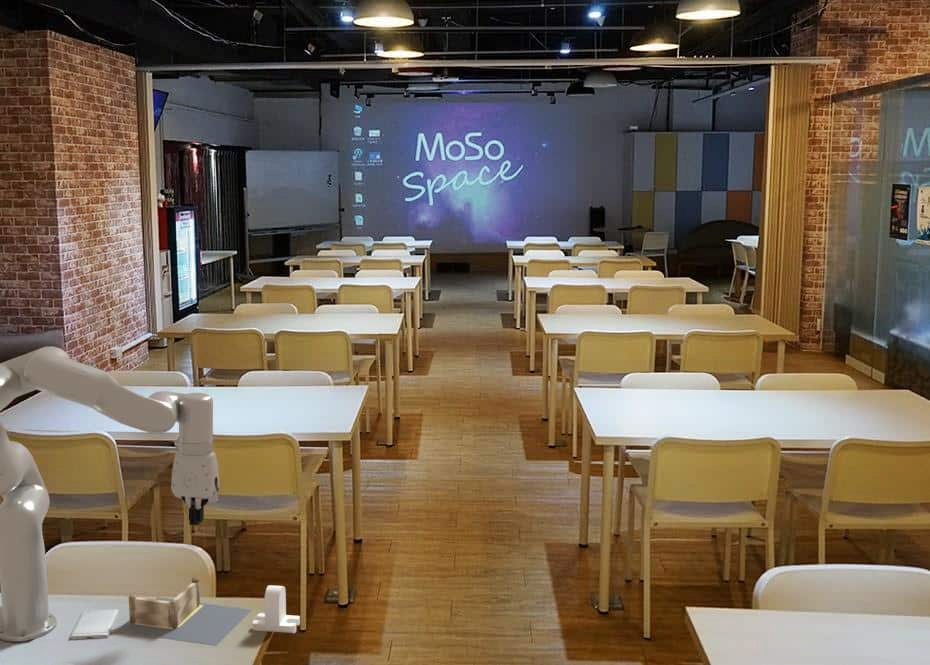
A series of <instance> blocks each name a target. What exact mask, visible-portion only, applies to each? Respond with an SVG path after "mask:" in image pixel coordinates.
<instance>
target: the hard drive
mask: <svg viewBox="0 0 930 665" xmlns="http://www.w3.org/2000/svg"><path fill="white" fill-rule="evenodd" d="M119 615H120V610H119V609H116V608H115V609H99V610H84V611H83V612H82V614H81V615H80V617H79V619H78V621H77V623H76V624H75V626H74V628H73V631H72V633H71V635H70V636H69V640H83V639H101V638H103V639H104V638H106V639H107V638H109V636H110V634H111V632H112V630H113V628H114V626H115V623H116V621H117V619H118V616H119Z"/></svg>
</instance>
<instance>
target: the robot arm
mask: <svg viewBox="0 0 930 665" xmlns="http://www.w3.org/2000/svg"><path fill="white" fill-rule="evenodd" d="M36 390H37V391H40V392H43V393H45V394H47V395H48V394H49V395H51V396H54V397H57V398H62V399H64V400H68V401H70V402H74V403H77V404H79V405H82V406H85V407H88V408H91V409H93V410H95V411H96V412H98V413H99V414H101V415H103V416H105V417H107V418H109V419H111V420H112V421H115V422H117V423H119V424H122V425H125V426H128V427H130V428H134V429H136V430H138V431H143V432H146V433H149V434H157V435H158V434H159V435H160V434H165V433H167V432H169V431H170V430H172V429H173V427H174V426H175V424H176V423H178V439H175V440H174V446H177V447H178V450H177V451H176V452H175V454H174V459H173V464H172V470H171V487H170V488H171V493H172V494H173V495H174V497H175V498H178V499H181V500H182V501H183V502H184V503H185V506H186V508H187V509H188V520H189V525H191V526H198V525H200V524H201V523H203V521H204V517H205V515H204V513H205V512H204V511H205V509H204V508H205V506H206V505H207V504H208V503H215V502H217V501H218V500H219V495H218V492H219V491H220V475H219V474H220V472H219V465H218V460H217V459H218V458H217V455H216V454H217V453H216V452H215V451H214V400H213V397H212V396H211V395H210V394H207V393H204V392H188V393H183V392H182V393H181V392H173V391H165V390H162V391H161V390H160V391H155V392H153V393H152V394H150V395H149V396H148V397H147V396H145V395H142V394H140V393H136V392H134V391H132V390H130V389H127V388H126V387H124V386H123V385H121V384H120V383H119V382H118V381H117V379H115V378H114V377H113V376H112V375H111V374H110V373H108V372H107V371H105V370H103V369H99V368H98V367H94V366H90V365H87V364H85V363H82V362H78V361H75V360H72V359H71V358H70V356H69V354H68V353H67V352H66V351H64V350H63V349H62V348H60V347H56V346H51V345H50V346H43V347H40V348H38V349H36V350H33V351H30V352H27V353H26V354H23V355H19V356H17V357H15V358H11V359H9V360H6V361H3V362H1V363H0V412H1V411H2V410H3V409H4V408H6V407H7V406H8V405H9V404H10V403H11V402H12V401H14V400H15V399H16V398H18V397H20V396H23V395H25V394H29V393H31V392H34V391H36ZM0 496H1V497H2V499H3V500H2V502H1V503H0V598H1V605H0V640H2V641H5V642H15V643H17V642H27V641H31V640H32V641H33V640H35V639H39V638H41V637H44V636H46V635H48V634H50V633H51V632H52V631H53V630H55V628H56V627H57V624H58V622H57V617H56V616H55V615H54V614H52V613H50V611H49V597H48V596H49V594H48V592H49V591H48V579H47V578H48V577H47V576H48V574H47V561H46V549H45V542H44V536H43V522H44V520H45V517H46V515H47V513H48V510H49V508H50V502H51V501H50V500H51V499H50V495H49V492H48V489H47V487H46V485H45V482H44V480H43V477H42V475H41V473H40V471H39V469H38V466H37V463H36V461H35V460H34V457H33V455H32V454H31V452H30V451H29V449H28V448H27V447H26V446H24V445H23V444H22V443H20V442H18V441H13V440H10V439H9V436H8V434H7V431H6V429H5V427H4V425H3V423H2V422H1V421H0Z"/></svg>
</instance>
